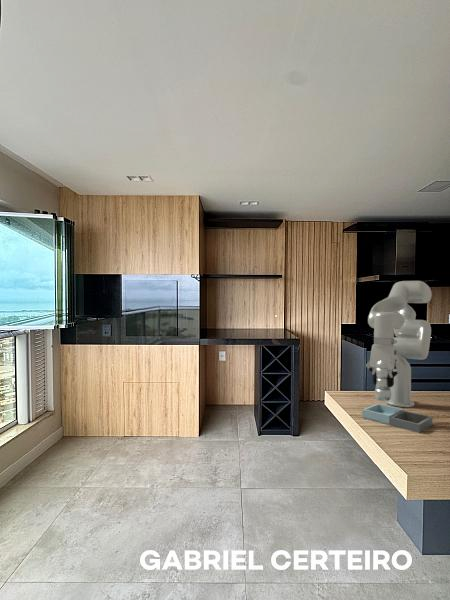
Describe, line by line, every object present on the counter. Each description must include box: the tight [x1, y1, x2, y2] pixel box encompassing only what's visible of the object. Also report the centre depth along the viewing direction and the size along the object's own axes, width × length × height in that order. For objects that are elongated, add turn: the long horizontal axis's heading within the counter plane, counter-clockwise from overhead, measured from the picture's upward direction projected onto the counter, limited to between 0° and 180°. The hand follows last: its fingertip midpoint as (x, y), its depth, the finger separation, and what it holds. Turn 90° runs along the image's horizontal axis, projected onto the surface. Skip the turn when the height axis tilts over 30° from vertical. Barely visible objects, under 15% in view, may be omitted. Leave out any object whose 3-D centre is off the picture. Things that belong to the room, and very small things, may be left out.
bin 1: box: [361, 403, 405, 426], centre depth 147 cm, size 14×11×4 cm
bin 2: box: [388, 410, 433, 434], centre depth 139 cm, size 14×11×3 cm
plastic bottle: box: [374, 361, 391, 402], centre depth 147 cm, size 6×7×20 cm
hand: (383, 384), depth 147 cm, fingers closed on plastic bottle, 5 cm apart
